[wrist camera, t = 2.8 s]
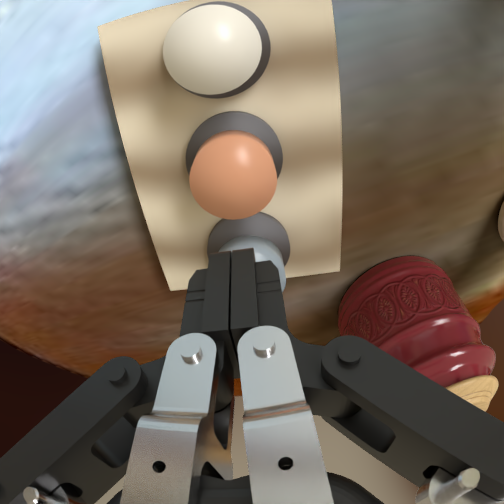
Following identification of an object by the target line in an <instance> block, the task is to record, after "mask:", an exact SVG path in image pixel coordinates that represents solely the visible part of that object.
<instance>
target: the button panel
mask: <svg viewBox="0 0 504 504" xmlns="http://www.w3.org/2000/svg"><path fill="white" fill-rule="evenodd" d="M204 5H225V6H228V7H232V8H234V9H237V10H238V11H240V12H242V13H243V14H245V15H246V16H247V17H248V18H249V19H250V20H251V21H252V22H253V23H254V25H255V26H256V28H257V30H258V32H259V35H260V38H261V43H262V52H261V58H260V61H259V64H258V66H257V68H256V70H255V72H254V73H253V74H252V76H251V77H250V78H249V79H248V80H247V81H246V82H245V83H243V84H242V85H241V86H239V87H237V88H236V89H233V90H231V91H229V92H226V93H221V94H214V95H206V94H199V93H195V92H192V91H190V90H188V89H186V88H184V87H182V86H181V85H180V84H178V83H177V82H176V81H175V80H174V79H173V78H172V76H171V75H170V74H169V72H168V70H167V68H166V66H165V63H164V59H163V45H164V40H165V37H166V34H167V32H168V30H169V29H170V27H171V26H172V24H173V23H174V22H175V21H176V20H177V19H178V18H179V17H180V16H182V15H183V14H184V13H186V12H188V11H190V10H192V9H194V8H197V7H200V6H204ZM98 33H99V38H100V44H101V49H102V54H103V60H104V64H105V69H106V74H107V79H108V83H109V88H110V92H111V97H112V101H113V105H114V110H115V114H116V118H117V122H118V126H119V130H120V134H121V137H122V141H123V145H124V149H125V152H126V156H127V159H128V163H129V167H130V170H131V174H132V177H133V180H134V184H135V187H136V190H137V194H138V197H139V200H140V203H141V207H142V210H143V213H144V216H145V219H146V222H147V225H148V228H149V231H150V234H151V237H152V240H153V243H154V246H155V249H156V252H157V255H158V258H159V260H160V263H161V266H162V269H163V272H164V274H165V277H166V280H167V283H168V285H169V288H170V291H174V290H184V289H188V283H189V280H190V278H191V277H192V275H193V274H194V273H195V271H196V270H199V269H207V268H208V261H209V254H210V253H217V252H219V250H220V249H221V247H222V246H223V245H224V244H226V243H227V242H228V241H230V240H232V239H234V238H237V237H240V236H248V235H252V236H259V237H263V238H265V239H268V240H269V241H271V242H272V243H274V244H275V245H276V246H277V247H278V249H279V250H280V252H281V255H282V259H283V264H284V270H285V275H286V278H290V277H298V276H306V275H314V274H322V273H329V272H337V271H340V257H341V232H342V127H341V103H340V85H339V71H338V58H337V46H336V36H335V26H334V17H333V9H332V1H331V0H189V1H184V2H179V3H175V4H171V5H166V6H162V7H158V8H155V9H151V10H147V11H144V12H140V13H137V14H133V15H130V16H127V17H124V18H121V19H118V20H115V21H112V22H109V23H106V24H103V25H100V26H98ZM227 130H240V131H245V132H248V133H251V134H253V135H255V136H256V137H258V138H259V139H261V140H262V141H263V142H264V143H265V144H266V146H267V147H268V149H269V150H270V152H271V155H272V158H273V162H274V165H275V169H276V173H277V187H276V190H275V193H274V196H273V198H272V199H271V201H270V202H269V203H268V205H267V206H266V207H265V208H264V209H262V210H261V211H260V212H258V213H257V214H255V215H253V216H250V217H247V218H243V219H236V220H231V219H223V218H219V217H216V216H214V215H212V214H210V213H208V212H207V211H205V210H204V209H203V208H202V207H201V206H200V205H199V204H198V203H197V202H196V200H195V198H194V197H193V195H192V192H191V189H190V183H189V176H190V171H191V167H192V164H193V162H194V159H195V157H196V154H197V152H198V150H199V148H200V147H201V145H202V144H203V143H204V142H205V141H206V140H207V139H208V138H210V137H211V136H213V135H215V134H217V133H220V132H222V131H227Z"/></svg>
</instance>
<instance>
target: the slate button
mask: <svg viewBox="0 0 504 504" xmlns="http://www.w3.org/2000/svg"><path fill="white" fill-rule="evenodd" d="M246 248H254V253H255V260H256V262H260V261H268V260H271V261H272V262H273V264H274V265H275V266H276V267H277V268H278V270H279V276H280V283H281V289H282V292H283V290H284V288H285V285H286V275H285V270H284V264H283V259H282V255H281V252H280V250H279V249H278V247H277V246H276V245H275V244H274V243H272V242H271V241H269V240H268V239H265V238H263V237H259V236H252V235H248V236H240V237H237V238H234V239H232V240H230V241H228V242H227V243H226V244H224V245H223V246H222V247H221V249H220V250H219V252H224V251H231V252H232V250H239V249H246Z"/></svg>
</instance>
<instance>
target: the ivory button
mask: <svg viewBox="0 0 504 504" xmlns="http://www.w3.org/2000/svg"><path fill="white" fill-rule="evenodd" d="M261 52H262V43H261V38H260V35H259V32H258V30H257V28H256V26H255V25H254V23H253V22H252V21H251V20H250V19H249V18H248V17H247V16H246V15H245V14H243V13H242V12H240V11H238V10H237V9H234V8H232V7H228V6H225V5H204V6H200V7H197V8H194V9H192V10H190V11H188V12H186V13H184V14H183V15H182V16H180V17H179V18H178V19H177V20H176V21H175V22H174V23H173V24H172V26H171V27H170V29H169V30H168V32H167V34H166V37H165V40H164V45H163V59H164V63H165V66H166V68H167V70H168V72H169V74H170V75H171V76H172V78H173V79H174V80H175V81H176V82H177V83H178V84H180V85H181V86H182V87H184V88H186V89H188V90H190V91H192V92H195V93H199V94H206V95H214V94H221V93H226V92H229V91H231V90H233V89H236V88H237V87H239V86H241V85H242V84H243V83H245V82H246V81H247V80H248V79H249V78H250V77H251V76H252V74H253V73H254V72H255V70H256V68H257V66H258V64H259V61H260V58H261Z"/></svg>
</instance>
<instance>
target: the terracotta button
mask: <svg viewBox="0 0 504 504" xmlns="http://www.w3.org/2000/svg"><path fill="white" fill-rule="evenodd" d="M189 183H190V189H191V192H192V195H193V197H194V198H195V200H196V202H197V203H198V204H199V205H200V206H201V207H202V208H203V209H204V210H205V211H207V212H208V213H210V214H212V215H214V216H216V217H219V218H223V219H231V220H236V219H243V218H247V217H250V216H253V215H255V214H257V213H258V212H260V211H261V210H262V209H264V208H265V207H266V206H267V205H268V203H269V202H270V201H271V199H272V198H273V196H274V193H275V190H276V187H277V173H276V169H275V165H274V162H273V158H272V155H271V152H270V150H269V149H268V147H267V146H266V144H265V143H264V142H263V141H262V140H261V139H259V138H258V137H256V136H255V135H253V134H251V133H248V132H245V131H240V130H227V131H222V132H220V133H217V134H215V135H213V136H211V137H210V138H208V139H207V140H206V141H205V142H204V143H203V144H202V145H201V147H200V148H199V150H198V152H197V154H196V157H195V159H194V162H193V164H192V167H191V171H190V176H189Z"/></svg>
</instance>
